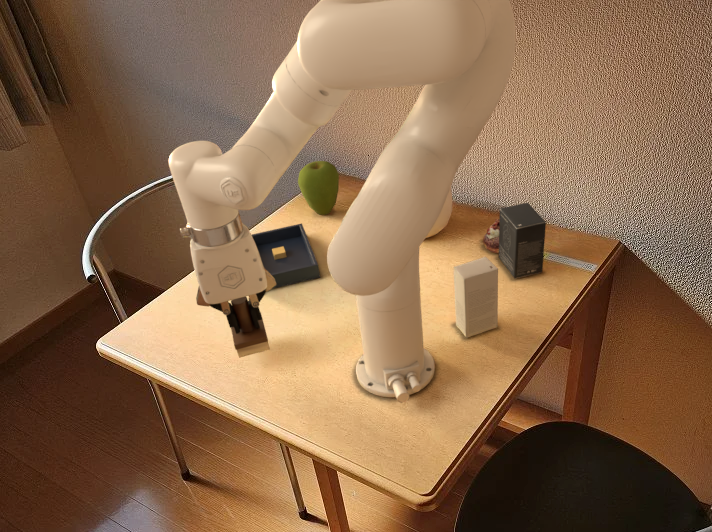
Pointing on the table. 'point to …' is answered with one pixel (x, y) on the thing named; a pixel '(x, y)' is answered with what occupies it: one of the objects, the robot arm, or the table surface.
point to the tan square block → (279, 252)
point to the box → (521, 240)
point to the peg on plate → (248, 330)
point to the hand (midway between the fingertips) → (246, 325)
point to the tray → (287, 255)
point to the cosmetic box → (476, 296)
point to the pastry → (492, 237)
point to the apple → (319, 186)
